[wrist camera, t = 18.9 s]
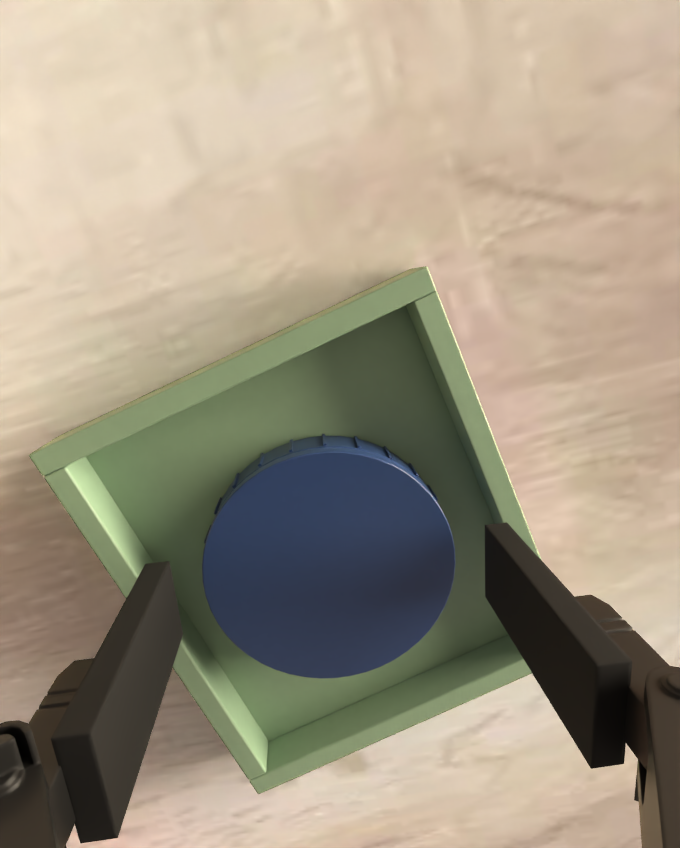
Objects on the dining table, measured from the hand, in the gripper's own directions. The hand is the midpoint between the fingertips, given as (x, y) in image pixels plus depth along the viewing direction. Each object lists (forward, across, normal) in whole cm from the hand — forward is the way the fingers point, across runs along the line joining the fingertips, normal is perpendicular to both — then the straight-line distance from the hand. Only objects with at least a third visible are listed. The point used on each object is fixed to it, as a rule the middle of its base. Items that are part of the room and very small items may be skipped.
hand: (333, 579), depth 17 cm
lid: (+1, 0, 0) cm, 1 cm away
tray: (+3, 0, 0) cm, 3 cm away
